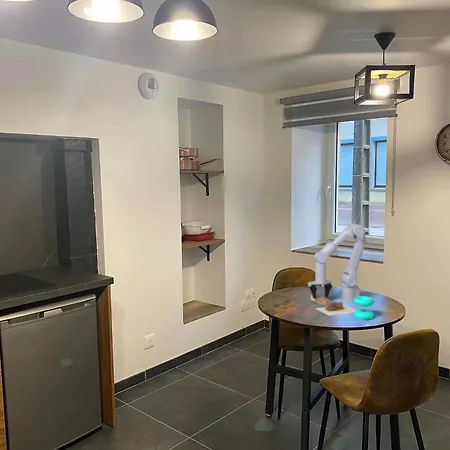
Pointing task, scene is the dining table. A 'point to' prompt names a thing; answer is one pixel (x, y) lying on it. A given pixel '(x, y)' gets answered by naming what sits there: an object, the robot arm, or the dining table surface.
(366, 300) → the donuts
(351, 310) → the board
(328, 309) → the block
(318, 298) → the bar
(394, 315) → the dining table surface
